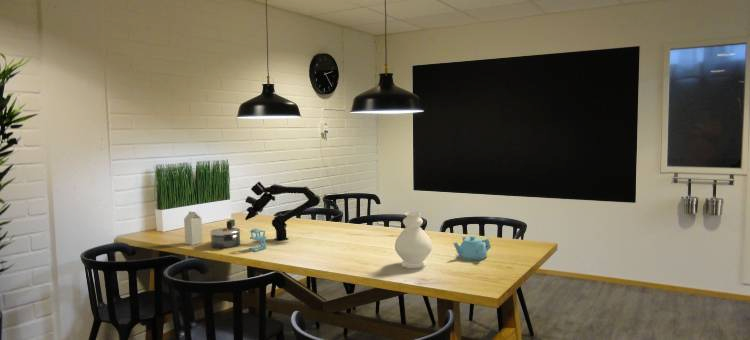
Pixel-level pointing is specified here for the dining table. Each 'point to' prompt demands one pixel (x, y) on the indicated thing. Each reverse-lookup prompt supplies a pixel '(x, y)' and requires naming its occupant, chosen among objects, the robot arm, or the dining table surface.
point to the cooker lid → (226, 230)
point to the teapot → (472, 248)
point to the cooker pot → (225, 241)
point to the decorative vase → (413, 242)
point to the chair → (259, 238)
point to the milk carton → (193, 229)
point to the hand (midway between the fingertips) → (245, 219)
